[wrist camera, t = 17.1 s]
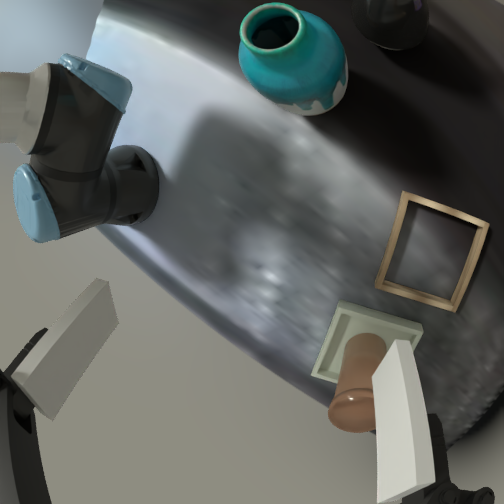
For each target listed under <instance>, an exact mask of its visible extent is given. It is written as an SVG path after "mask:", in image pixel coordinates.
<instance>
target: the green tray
mask: <svg viewBox="0 0 504 504" xmlns="http://www.w3.org/2000/svg"><path fill="white" fill-rule="evenodd" d="M361 333H372V334H376V335H378V336H379V337H381V338H382V339H383V340H384V342H385V344H386V348H387V352H388V350H389V349H390V347H391V346H392V344H393V342H394V340H395V339H397V340H407V341H410V344H411V347H412V351H414V349H415V347H416V346H417V344H418V342H419V340H420V338H421V336H422V334H423V328H422V324H421V323H417V322H414V321H411V320H407V319H404V318H400V317H397V316H394V315H390V314H387V313H384V312H380V311H377V310H374V309H370V308H367V307H364V306H360V305H357V304H354V303H351V302H347V301H344V300H341V299H339V302H338V305H337V308H336V310H335V313H334V316H333V319H332V321H331V324H330V327H329V329H328V332H327V335H326V337H325V340H324V342H323V345H322V347H321V350H320V352H319V355H318V357H317V360H316V362H315V365H314V367H313V370H312V373H311V376H314V377H317V378H321V379H324V380H327V381H330V382H334V383H338V378H339V374H340V369H341V364H342V359H343V354H344V348H345V345H346V343H347V342H348V341H349V339H351V338H352V337H353V336H355V335H357V334H361Z"/></svg>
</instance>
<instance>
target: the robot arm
mask: <svg viewBox="0 0 504 504" xmlns="http://www.w3.org/2000/svg"><path fill="white" fill-rule="evenodd" d="M131 93H132V84H131V82H130V80H129V79H127V78H126V77H124V76H122V75H120V74H118V73H116V72H114V71H112V70H110V69H107V68H105V67H103V66H100V65H98V64H95V63H93V62H90V61H88V60H85V59H82V58H80V57H77V56H72V55H69V54H63V55H62V57H61V58H60V59H59V60H58V64H53V63H43V64H42V65H40V66H39V67H38V68H36V69H35V70H34V71H32V72H30V73H17V72H16V73H15V72H0V143H15V144H16V145H17V146H18V148H19V149H20V150H21V152H22V153H23V154H25V155H29V154H31V159H30V163H29V164H23V165H22V166H20V167H19V168H18V169H17V170H16V172H15V175H14V181H13V192H14V201H15V206H16V210H17V214H18V217H19V220H20V222H21V225H22V227H23V229H24V230H25V232H26V234H27V235H28V236H29V238H31V239H32V240H33V241H35V242H38V243H44V242H48V241H51V240H58V239H60V238H63V237H66V236H69V235H71V234H74V233H77V232H80V231H83V230H85V229H88V228H91V227H94V226H97V225H100V224H104V223H105V224H114V225H122V226H129V225H133V224H137V223H140V222H142V221H144V220H145V219H146V218H147V217H148V216H149V215H150V214H151V213H152V211H153V209H154V207H155V205H156V202H157V198H158V192H159V180H158V174H157V170H156V167H155V164H154V162H153V160H152V158H151V157H150V155H149V154H148V153H147V152H146V151H145V150H144V149H142V148H140V147H138V146H135V145H122V146H117V147H115V148H113V149H111V150H110V147H111V144H112V141H113V139H114V136H115V133H116V131H117V128H118V125H119V123H120V120H121V118H122V116H123V114H125V112H126V110H125V108H126V106H127V103H128V101H129V98H130V96H131ZM118 324H119V322H118V318H117V316H116V311H115V307H114V303H113V299H112V295H111V291H110V286H109V282H108V281H105V280H102V279H98V278H96V279H95V280H94V281H93V282H92V283H91V284H90V285H89V286H88V287H87V288H86V289H85V290H84V291H83V292H82V293H81V294H80V295H79V296H78V298H77V299H76V300H75V301H74V302H73V303H72V304H71V305H70V306H69V307H68V308H67V309H66V311H65V312H64V313H63V314H62V315H61V316H60V317H59V318H58V319H57V321H56V322H55V323H54V324H53V325H52V326H51V327H50V329H47V328H44V329H42V330H40V331H39V332H37V333H36V334H35V335H34V336H33V337H32V338H31V340H30V341H29V343H27V344H26V345H25V347H24V349H22V351H20V353H19V354H18V355H17V357H16V358H15V359H14V360H13V362H12V363H11V364H10V365H9V366H8V368H7V369H6V370H5V371H4V372H2V371H1V369H0V504H52V503H51V500H50V496H49V493H48V488H47V484H46V480H45V476H44V471H43V467H42V462H41V457H40V451H39V445H38V437H37V430H36V422H35V414H34V410H33V409H34V407H36V408H37V409H38V410H39V411H40V413H42V414H43V415H45V416H46V417H47V418H49V419H51V420H52V421H53V420H54V418H55V417H56V415H57V414H58V412H59V410H60V409H61V407H62V406H63V404H64V402H65V401H66V399H67V398H68V396H69V395H70V393H71V392H72V390H73V388H74V387H75V385H76V384H77V382H78V381H79V379H80V378H81V376H82V375H83V373H84V372H85V370H86V369H87V368H88V366H89V364H90V363H91V362H92V360H93V359H94V357H95V356H96V354H97V353H98V352H99V350H100V349H101V347H102V346H103V345H104V343H105V342H106V340H107V339H108V337H109V336H110V334H111V333H112V332H113V331H114V329H115V328H116V326H117V325H118ZM372 384H373V394H374V405H375V419H376V436H377V463H378V464H377V465H378V466H377V470H378V471H377V472H378V479H377V480H378V482H377V486H378V487H377V488H378V489H377V503H385V502H394V501H396V500H399V499H401V498H402V503H400V504H494V500H495V496H494V492H493V491H492V489H490V488H489V487H483V488H481V489H479V490H477V491H467V490H460V489H458V487H457V486H456V485H455V484H453V483H451V481H450V477H449V469H448V460H447V453H446V446H445V440H444V437H443V435H444V434H443V428H442V423H441V422H440V420H439V418H438V416H437V415H436V414H427V413H426V407H425V402H424V397H423V393H422V388H421V383H420V379H419V375H418V371H417V366H416V362H415V359H414V355H413V351H412V347H411V344H410V341H407V340H397V339H395V340H394V342H393V344H392V346H391V347H390V349H389V350H388V352H387V354H386V355H385V357H384V359H383V360H382V362H381V363H380V365H379V366H378V368H377V370H376V371H375V373H374V374H373V376H372Z"/></svg>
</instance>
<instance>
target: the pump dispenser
mask: <svg viewBox="0 0 504 504" xmlns="http://www.w3.org/2000/svg"><path fill="white" fill-rule="evenodd" d="M351 15H352V19H353V22H354V24H355V26H356V27H357V29H358V30H359V31H360V32H361V34H362V35H364V36H365V37H366V38H367V39H369V40H370V41H371V42H373V43H374V44H376V45H378V46H380V47H383V48H386V49H390V50H405V49H410V48H413V47H415V46H417V45H419V44H420V43H421V42H422V41H423V39H424V38H425V36H426V33H427V30H428V24H429V10H428V4H427V0H352V2H351Z"/></svg>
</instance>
